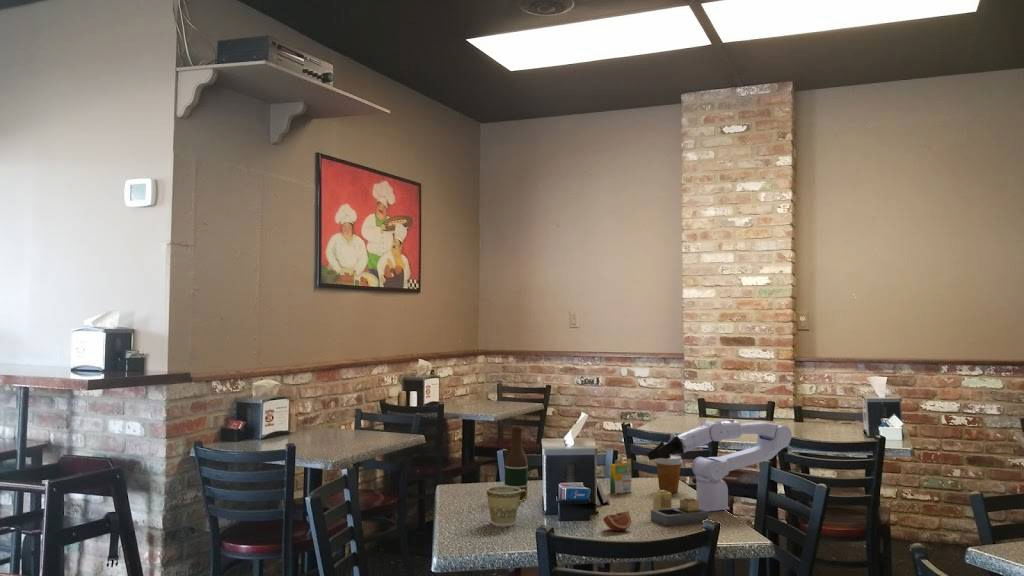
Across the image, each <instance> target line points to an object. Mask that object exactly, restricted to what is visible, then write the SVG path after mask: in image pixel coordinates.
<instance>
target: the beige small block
mask: <svg viewBox="0 0 1024 576" xmlns="http://www.w3.org/2000/svg"><path fill="white" fill-rule="evenodd" d="M652 494H653V495H652V496H653V497H652V500H653V503H652V505H653V508H652V510H657V509H667V508H672V493H670V492H668V491H665V490H658V489H657V490H654V491H653V493H652Z"/></svg>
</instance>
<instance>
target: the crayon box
mask: <svg viewBox="0 0 1024 576" xmlns="http://www.w3.org/2000/svg"><path fill="white" fill-rule="evenodd" d="M609 473H610V474H609V477H610V478H609V481H610V483H609V488H610V490H609V492H612V493H611V494H613V493H614V494H613V495H618V494H617V493H619V494H624V493H625V492H627V493H632V458H624V459H615V460H614V463H612V464H609ZM625 494H626V493H625Z"/></svg>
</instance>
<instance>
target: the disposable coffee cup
mask: <svg viewBox="0 0 1024 576" xmlns="http://www.w3.org/2000/svg"><path fill="white" fill-rule="evenodd" d="M670 457H671V458H668V459H664V458H658V459H654V461H655V463H656V472H657V481H658V488H659V490H665V491H668V492H670V493H671V494H675V493H678V491H679V482H680V474H681V468H682V464H683V459H682V456H681V455H677V454H670Z"/></svg>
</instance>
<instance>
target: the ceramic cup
mask: <svg viewBox="0 0 1024 576" xmlns="http://www.w3.org/2000/svg"><path fill="white" fill-rule="evenodd" d="M523 491H524V492H525V497H524V498H523V499H522V500H521V501H519V499H520V494H521V492H523ZM486 496H487V503H488V506H489V507H488V508H489V516H490V520H491V524H492V525H493V526H494V525H495V527H498V526H502V528H507V527H506V526H509V527H512V525H513V526H514V525H515V524H516V519H517V511H518V508H519V506H520V505H521V504H522V502H523V501H525V500H524V499H525V498H526V496H527V497H528V491H527V492H526V490H524V489H520V488H517V487H512V486H505V485H496V486H490V487H488V488H486ZM526 499H527V498H526Z"/></svg>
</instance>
